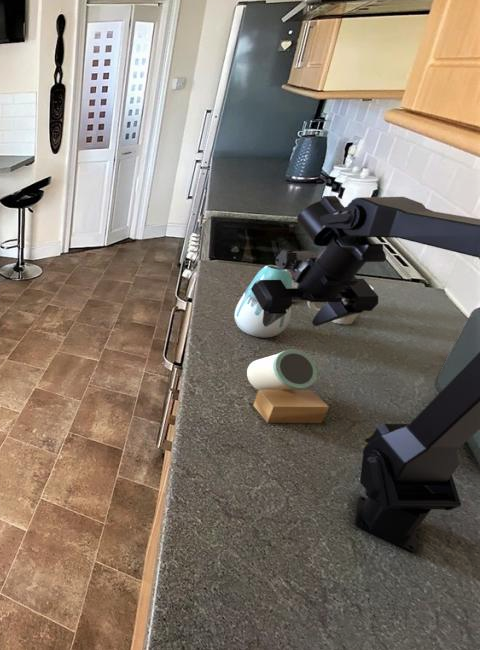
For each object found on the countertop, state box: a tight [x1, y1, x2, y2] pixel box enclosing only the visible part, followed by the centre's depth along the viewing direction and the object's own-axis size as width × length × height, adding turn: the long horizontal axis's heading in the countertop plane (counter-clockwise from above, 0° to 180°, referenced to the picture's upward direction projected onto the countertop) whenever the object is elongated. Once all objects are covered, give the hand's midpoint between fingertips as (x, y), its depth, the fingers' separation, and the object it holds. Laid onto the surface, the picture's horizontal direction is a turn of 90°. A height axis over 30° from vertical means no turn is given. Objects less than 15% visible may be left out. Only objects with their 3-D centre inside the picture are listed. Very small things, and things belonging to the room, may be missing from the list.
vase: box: [233, 264, 292, 339], centre depth 107 cm, size 12×12×18 cm
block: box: [253, 389, 330, 424], centre depth 83 cm, size 5×10×4 cm, turn 88°
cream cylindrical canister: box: [246, 348, 318, 391], centre depth 86 cm, size 12×7×12 cm, turn 177°
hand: (289, 324), depth 83 cm, fingers open, 9 cm apart
